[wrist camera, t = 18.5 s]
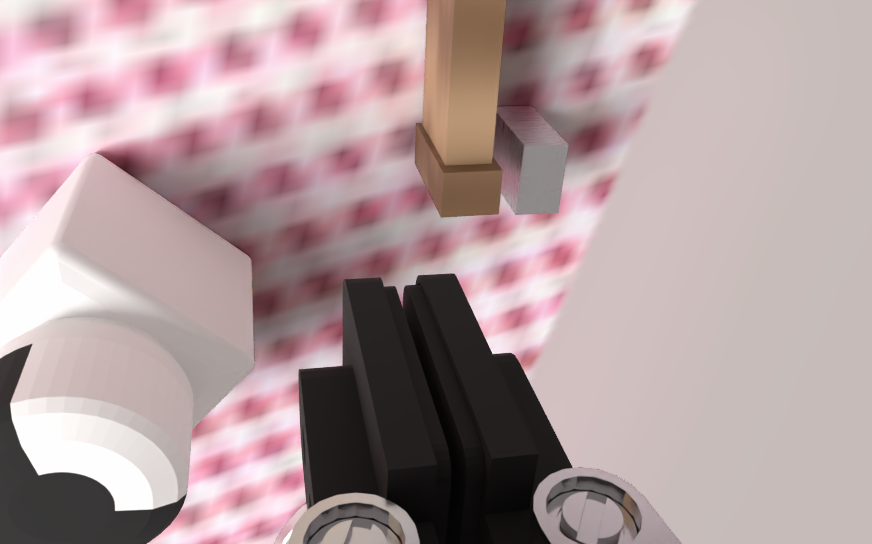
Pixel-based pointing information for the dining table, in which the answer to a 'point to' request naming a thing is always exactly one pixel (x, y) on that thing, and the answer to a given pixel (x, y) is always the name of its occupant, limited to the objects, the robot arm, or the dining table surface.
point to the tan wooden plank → (461, 106)
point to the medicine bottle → (112, 358)
